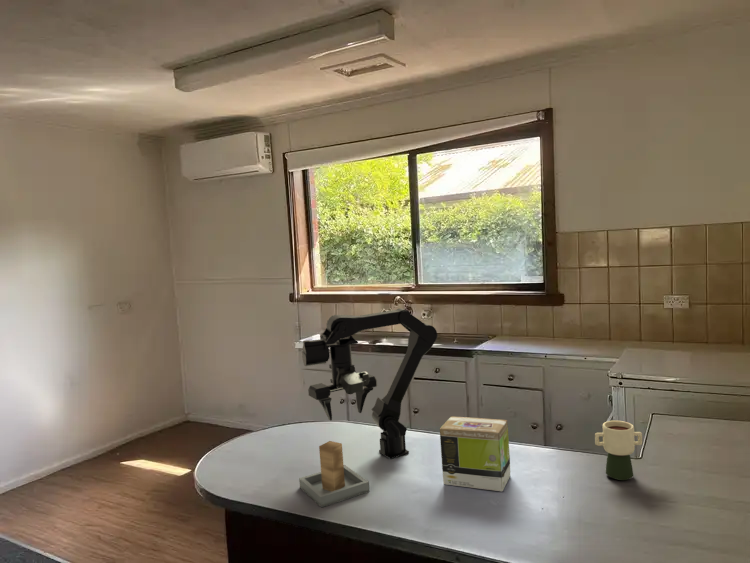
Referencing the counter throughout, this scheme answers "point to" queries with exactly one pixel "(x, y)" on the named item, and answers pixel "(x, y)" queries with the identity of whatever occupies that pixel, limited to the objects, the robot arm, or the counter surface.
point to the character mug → (618, 448)
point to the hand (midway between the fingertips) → (345, 416)
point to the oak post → (332, 466)
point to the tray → (324, 497)
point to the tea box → (475, 453)
